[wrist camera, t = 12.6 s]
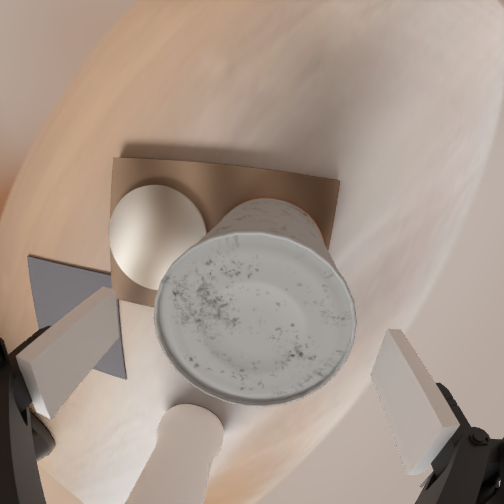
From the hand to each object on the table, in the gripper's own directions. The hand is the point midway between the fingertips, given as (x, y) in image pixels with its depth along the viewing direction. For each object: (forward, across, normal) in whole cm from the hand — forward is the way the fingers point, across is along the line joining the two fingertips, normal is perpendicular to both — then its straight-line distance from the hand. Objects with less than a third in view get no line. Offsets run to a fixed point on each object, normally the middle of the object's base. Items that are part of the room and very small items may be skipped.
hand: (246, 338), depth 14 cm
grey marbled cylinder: (+13, 0, 0) cm, 13 cm away
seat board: (+14, -4, 0) cm, 15 cm away
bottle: (+15, -5, -24) cm, 28 cm away
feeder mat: (+15, -21, -12) cm, 28 cm away
